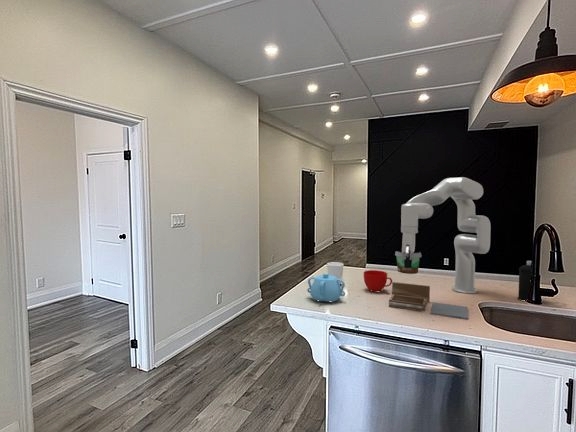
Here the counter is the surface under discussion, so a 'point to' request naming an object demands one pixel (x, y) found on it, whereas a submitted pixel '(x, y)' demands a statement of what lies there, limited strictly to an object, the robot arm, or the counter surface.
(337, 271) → the cup
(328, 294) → the decorative pot
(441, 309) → the mat
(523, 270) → the black bottle
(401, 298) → the box
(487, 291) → the counter surface
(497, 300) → the counter surface
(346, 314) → the counter surface
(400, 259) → the food container
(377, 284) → the ceramic cup
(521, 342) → the counter surface
